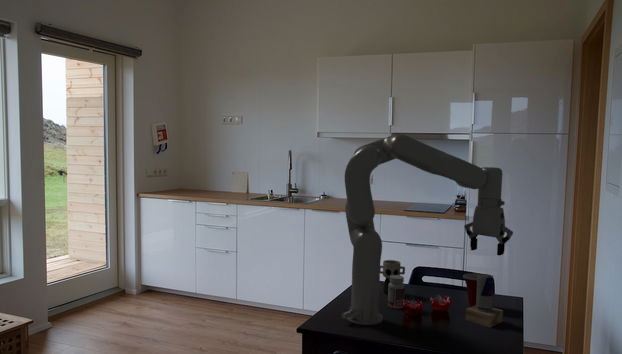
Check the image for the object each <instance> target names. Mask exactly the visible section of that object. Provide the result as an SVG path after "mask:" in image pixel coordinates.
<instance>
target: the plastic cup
mask: <svg viewBox="0 0 622 354" xmlns="http://www.w3.org/2000/svg"><path fill="white" fill-rule="evenodd" d="M478 274H479V273H466V274H463V275H462V277H463V279H464V281H465V287H466V292H467V293H466V294H467V300H468V306H469V308H470V307H472V306H475V305H476V296H477V277H478Z"/></svg>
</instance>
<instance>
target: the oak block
mask: <svg viewBox="0 0 622 354" xmlns="http://www.w3.org/2000/svg"><path fill="white" fill-rule="evenodd" d="M465 321H466V322H470V323H474V324H476V325H480V326H483V327H487V328H492V327H494V326H497V325H498V324H501V323H503V321H504V310H503V309H500V308H496V307H492V311H490V312H483V311H479V310H477V309H476V305H475V306H472V307H470V306H469V307H468V308H465Z"/></svg>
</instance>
